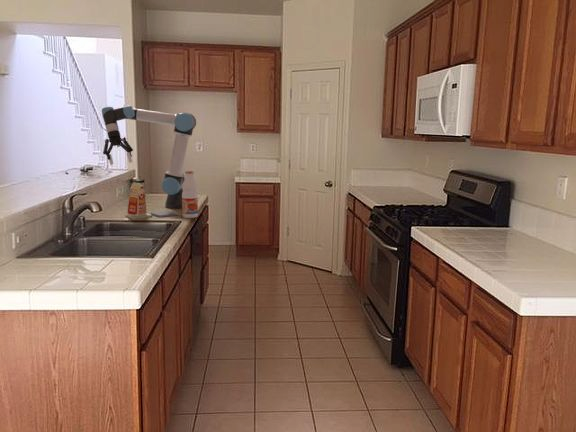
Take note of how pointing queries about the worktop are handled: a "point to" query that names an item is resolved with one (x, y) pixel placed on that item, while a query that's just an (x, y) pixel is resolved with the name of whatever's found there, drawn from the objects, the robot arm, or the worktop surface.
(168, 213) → the slate mat
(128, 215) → the sage mat
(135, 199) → the milk carton
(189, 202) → the fruit juice
